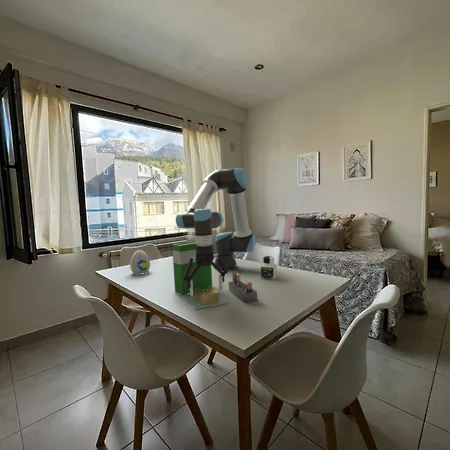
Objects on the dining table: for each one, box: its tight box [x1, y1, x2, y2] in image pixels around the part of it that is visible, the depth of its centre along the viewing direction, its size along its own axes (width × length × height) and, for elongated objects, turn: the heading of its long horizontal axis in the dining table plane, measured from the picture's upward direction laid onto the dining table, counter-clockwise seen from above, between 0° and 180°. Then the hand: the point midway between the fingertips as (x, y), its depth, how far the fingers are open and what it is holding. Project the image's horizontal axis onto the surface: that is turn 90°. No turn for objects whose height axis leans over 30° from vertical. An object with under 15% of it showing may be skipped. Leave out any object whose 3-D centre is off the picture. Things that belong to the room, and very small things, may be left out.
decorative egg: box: [129, 249, 151, 275], centre depth 163 cm, size 12×12×15 cm
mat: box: [187, 295, 228, 310], centre depth 113 cm, size 14×14×1 cm
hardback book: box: [171, 240, 213, 296], centre depth 128 cm, size 18×7×24 cm, turn 130°
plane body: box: [228, 271, 258, 304], centre depth 117 cm, size 18×6×9 cm, turn 22°
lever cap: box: [194, 285, 220, 306], centre depth 112 cm, size 10×8×5 cm
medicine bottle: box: [260, 255, 278, 281], centre depth 142 cm, size 7×7×12 cm
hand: (206, 292), depth 112 cm, fingers open, 13 cm apart
